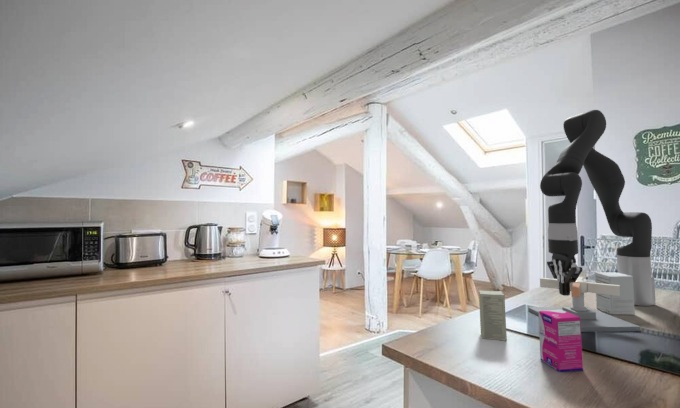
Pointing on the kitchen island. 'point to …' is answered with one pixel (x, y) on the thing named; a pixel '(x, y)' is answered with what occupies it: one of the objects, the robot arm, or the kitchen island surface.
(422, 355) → the kitchen island surface
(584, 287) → the star cap
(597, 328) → the post board
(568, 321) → the supplement box
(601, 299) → the supplement box
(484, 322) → the skincare box
